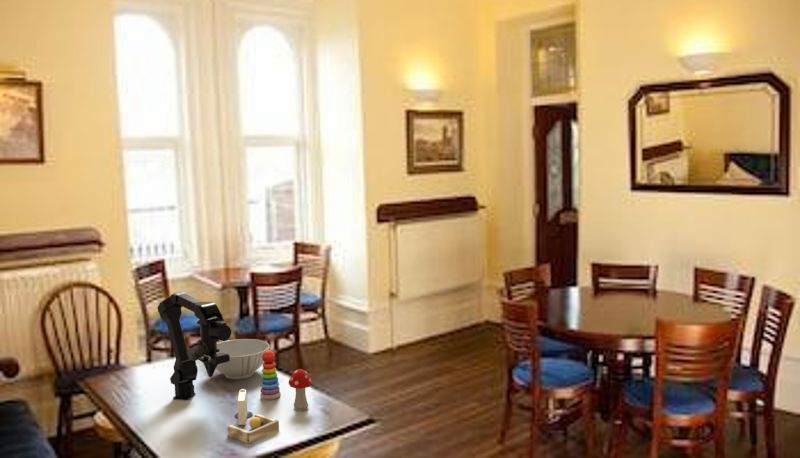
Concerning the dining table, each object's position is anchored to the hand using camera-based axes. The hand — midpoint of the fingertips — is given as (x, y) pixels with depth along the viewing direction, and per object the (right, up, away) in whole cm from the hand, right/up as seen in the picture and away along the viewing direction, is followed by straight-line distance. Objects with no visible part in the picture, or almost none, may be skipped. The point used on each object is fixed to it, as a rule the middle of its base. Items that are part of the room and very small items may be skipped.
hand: (210, 376), depth 258 cm
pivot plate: (+14, -13, -7) cm, 20 cm away
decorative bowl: (+2, -8, +39) cm, 40 cm away
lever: (+15, -13, -12) cm, 23 cm away
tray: (+21, -15, -23) cm, 34 cm away
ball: (+21, -12, -19) cm, 31 cm away
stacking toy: (+21, -11, +11) cm, 26 cm away
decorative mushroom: (+34, -12, -1) cm, 36 cm away
